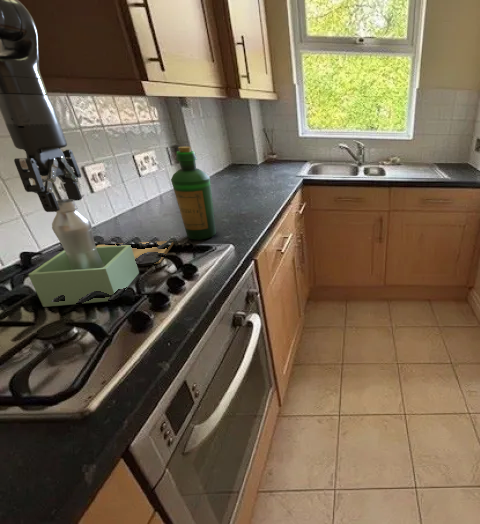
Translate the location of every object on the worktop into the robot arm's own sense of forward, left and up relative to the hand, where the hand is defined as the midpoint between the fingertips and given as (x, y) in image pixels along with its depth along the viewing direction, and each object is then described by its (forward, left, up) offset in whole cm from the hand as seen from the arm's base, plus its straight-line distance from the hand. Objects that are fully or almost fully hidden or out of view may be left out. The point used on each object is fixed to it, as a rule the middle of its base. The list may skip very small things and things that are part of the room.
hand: (65, 205), depth 69 cm
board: (0, +19, -20) cm, 28 cm away
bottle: (+17, +32, -20) cm, 41 cm away
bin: (0, 0, -20) cm, 20 cm away
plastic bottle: (0, 0, -19) cm, 19 cm away
